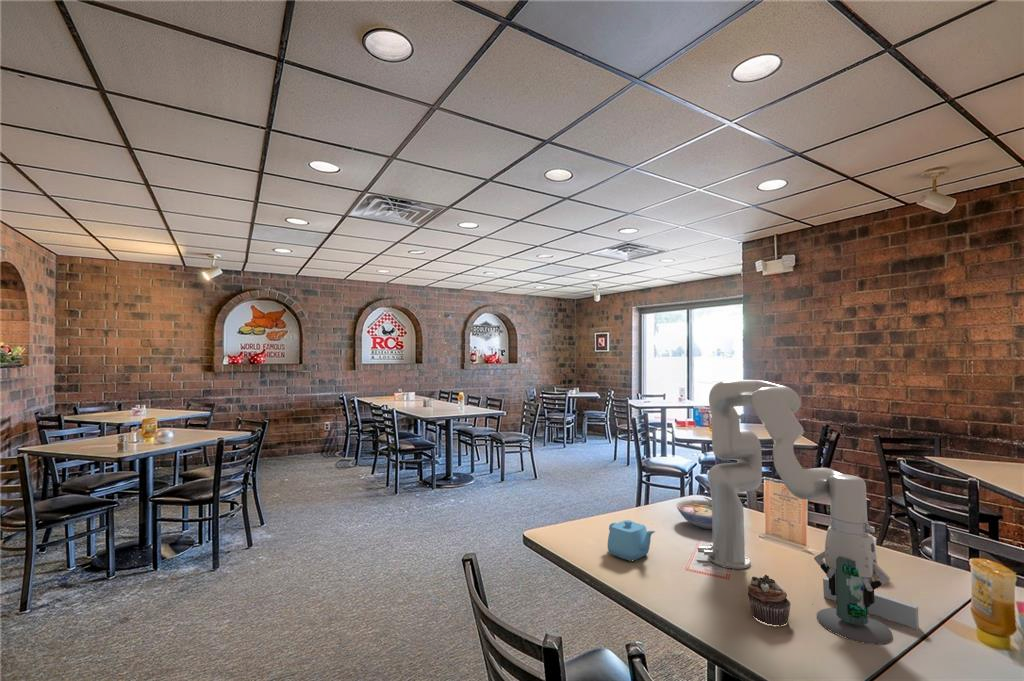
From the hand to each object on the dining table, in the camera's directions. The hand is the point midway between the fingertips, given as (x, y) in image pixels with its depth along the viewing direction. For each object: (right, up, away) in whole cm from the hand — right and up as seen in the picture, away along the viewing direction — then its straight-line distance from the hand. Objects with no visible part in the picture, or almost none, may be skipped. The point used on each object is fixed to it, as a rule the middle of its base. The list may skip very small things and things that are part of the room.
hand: (851, 598), depth 116 cm
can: (0, -5, 0) cm, 5 cm away
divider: (+9, -7, +6) cm, 13 cm away
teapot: (-44, -9, +42) cm, 61 cm away
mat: (0, -6, 0) cm, 6 cm away
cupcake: (-19, -7, +3) cm, 20 cm away
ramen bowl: (-6, -10, +71) cm, 72 cm away
